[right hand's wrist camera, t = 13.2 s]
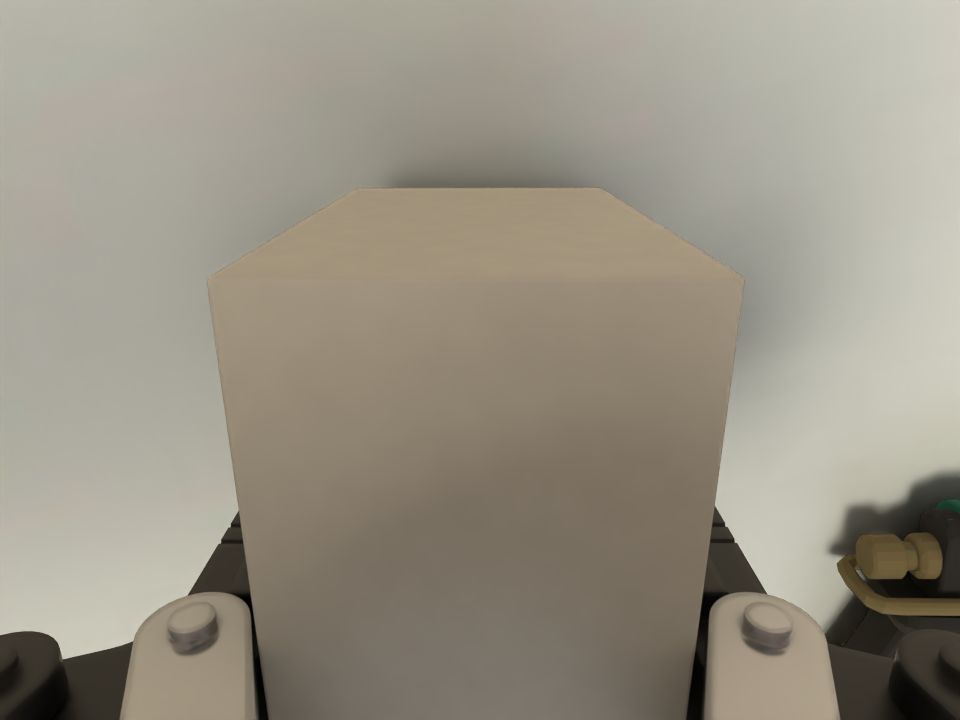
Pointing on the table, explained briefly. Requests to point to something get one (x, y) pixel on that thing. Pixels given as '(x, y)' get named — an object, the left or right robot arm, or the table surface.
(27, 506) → the table surface
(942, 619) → the spray gun
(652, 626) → the bar
